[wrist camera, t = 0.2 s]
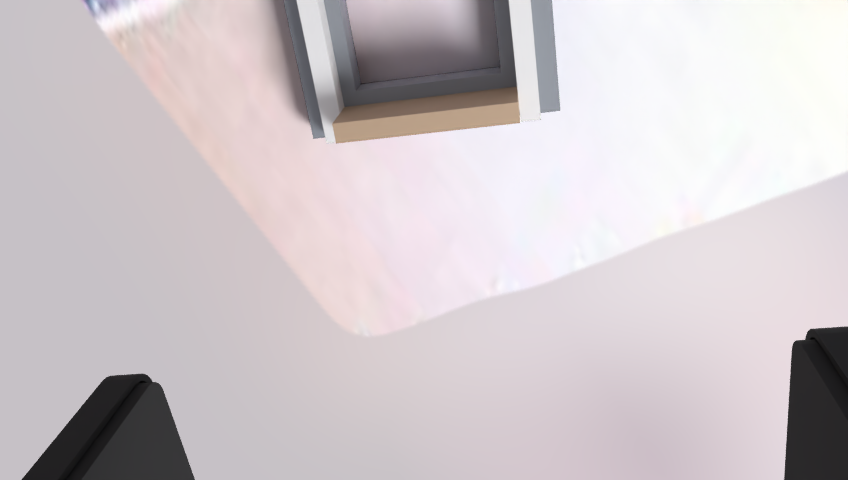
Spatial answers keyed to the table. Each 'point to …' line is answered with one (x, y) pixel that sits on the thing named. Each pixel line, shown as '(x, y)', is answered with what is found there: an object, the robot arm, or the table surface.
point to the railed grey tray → (422, 78)
